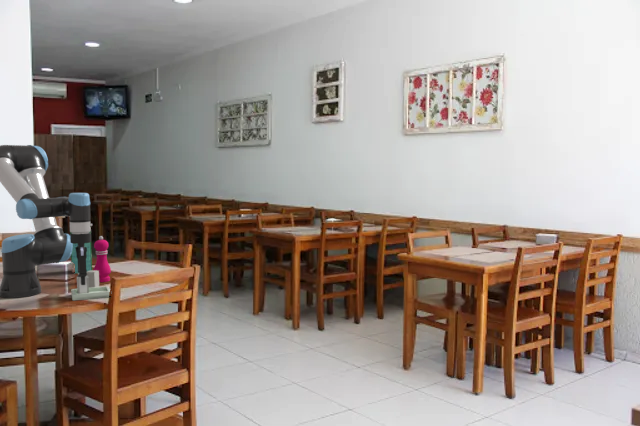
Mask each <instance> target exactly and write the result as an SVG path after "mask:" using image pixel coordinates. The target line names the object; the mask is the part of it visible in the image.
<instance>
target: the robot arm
mask: <svg viewBox="0 0 640 426" xmlns="http://www.w3.org/2000/svg"><path fill="white" fill-rule="evenodd" d="M48 168H49V159H48V156H47V153H46V151H45V150H44V149H43V148H42V147H41V146H39V145H33V144H32V145H31V144H27V145H20V144H19V145H15V144H2V145H0V184H1V185H2V186H3V187H4V188H5V191H7V192H8V194H9V195H10V197H12V199H13V200H14V202H15V204H16V205H15V212H16V214H17V216H18V218H19V219H22V220H32V223H33V227H34V233H24V234H16V235H12V236H9V237H6V238H4V239H3V240H2V241H1V250H0V253H1V259H2V260H1V261H2V279H1V282H0V296H1V298H7V299H9V298H24V297H25V298H26V297H31V296H36V295H39V294H41V293H42V286H41V283H40V281H39V278H38V276H37V272H36V270H37V269H36V266H44V265H51V264H59V263H64V262H67V261H68V260H69V259H70V258H71V254H72V249H73V244H78V246H77V247H76V256H77V259H78V273H77V275H76V278H77V277H79V292H80V293H87V273H86V272H87V270H86V258H87V254H86V252H87V248H86V247H85V245H84V244H85V243H90V242H91V243H92V229H91V227H92V226H93V223H91V199H90V194H89V193H88V192H70V193H69V194H68V196H58V197H50V196H49V193H48V189H47V185H46V182H45V179H44V176H45V175H46V172H47V170H48ZM60 217H69V233H70V232H71V234H69V233H64V231H63V227H61V226H59V225H58V224H57V219H56V218H60ZM90 226H91V227H90ZM90 231H91V233H89V232H90Z"/></svg>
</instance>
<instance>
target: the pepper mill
mask: <svg viewBox="0 0 640 426" xmlns="http://www.w3.org/2000/svg"><path fill="white" fill-rule="evenodd" d="M93 248H94V250H95V255H96V262H95V265H94V267H93V270H98V271H99V283H108V282H110V281H111V277H110V276H109V275H110V274H111V273H112V269H111V265H110V264H109V262H108V249H109V242H108V241H107V240H106V239H104V237H103V235H100V236H98V240H96V241H95V242H94V244H93Z"/></svg>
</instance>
